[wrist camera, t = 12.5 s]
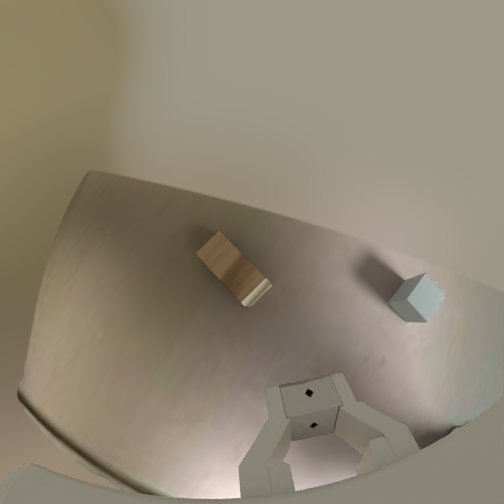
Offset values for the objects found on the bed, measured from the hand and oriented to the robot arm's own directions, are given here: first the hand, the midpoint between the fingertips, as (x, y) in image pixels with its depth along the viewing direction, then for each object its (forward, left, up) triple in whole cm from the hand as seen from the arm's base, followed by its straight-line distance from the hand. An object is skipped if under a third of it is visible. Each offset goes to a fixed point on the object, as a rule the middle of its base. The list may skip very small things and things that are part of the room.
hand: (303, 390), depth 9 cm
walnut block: (+6, -5, -31) cm, 32 cm away
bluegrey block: (-19, -7, -33) cm, 39 cm away
